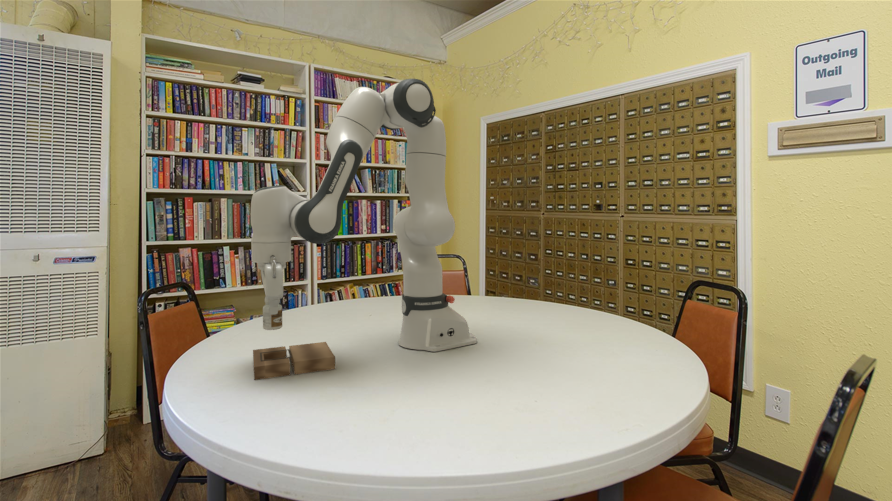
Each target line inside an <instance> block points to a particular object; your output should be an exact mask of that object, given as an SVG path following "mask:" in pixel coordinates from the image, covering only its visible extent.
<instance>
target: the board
mask: <svg viewBox="0 0 892 501" xmlns="http://www.w3.org/2000/svg"><path fill="white" fill-rule="evenodd" d="M288 347H289V348H288V349H287V348H286V346H278V347H276V346H275V347H269V348H259V349H252V356H253V357H252V358H253V375H254V376H253V377H254V380H255V381H256V380H264V379H271V378H278V377H280V378H281V377H286V376H291V366H292V368H293V369H292V370H293V373H294V375H300V374H307V373H314V372H323V371H328V370H329V371H331V370H335V369H336V356H335V355H334V353H333V351H332V350H331V348H330V346H329V345H328V343H327V341H321V342H312V343H304V344H303V343H302V344H295V345H289V346H288ZM287 351H288V354H289V356H288V354H287Z"/></svg>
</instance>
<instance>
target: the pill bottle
mask: <svg viewBox="0 0 892 501" xmlns="http://www.w3.org/2000/svg"><path fill="white" fill-rule="evenodd" d="M280 302H281V299H279V301H278V313H277V314H274V315H271V314H270V311H269V299H267V298H266V295H265V296H264V305H263V306H262V328H263V330H265V331H277V330H280V329H282V328H283V306H282V304H280Z"/></svg>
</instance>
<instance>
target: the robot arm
mask: <svg viewBox="0 0 892 501" xmlns="http://www.w3.org/2000/svg"><path fill="white" fill-rule="evenodd" d="M434 99H435V98H434V96H433V93H432V90H431V88H430V87H429V85H428V84H427V83H426V82H425V81H423V80H421V79H418V78H406V79H403V80H401V81H399V82H396V83H394V84H392V85H390V86H389V87H387V89H384V90H383V91H382V92H378V91H376V90H375V89H372V88H370V87H367V86H359V87H356V88H355V89H353V90H352V92H351V93H350V94H349V95H348V96H347V98H346V99H345V100H344V102H343V103H342V105H341V106H340V107H339V110H338V111H337V113H336V115H335V116H334V118H333V121H332V122H331V124H330V127H329V128H328V132H327V135H326V140H325V144H326V148H327V150H328V152H329V154H330V161H329V165H328V168H327V170H326V172H325V174H324V176H323V179H322V180H321V183H320V185H319V187H318V188H317V189H318V190H317V192H316V193H315V194H314V195H313V196H312V197H311V198H310V199H308V198H306V197H305V196H304V197H303V196H302V195H300V194H297V193H295V192H293V191H292V190H290V189H289V188H288V187H287V186H286V185H282V184H281V185H280V184H279V185H271V186H265V187H260V188H258V189H256V190H255V191H254V192H253V194H252V196H251V199H250V200H251V203H250V226H251V228H252V237H251V242H250V243H251V244H250V247H251V248H250V249H251V262H252V263H257V269H258V270H260V277H261V282H262V286H263V289H264V294H265V296H266V298H267V299H269V311H270V314H271V315H274V314H277V313H278V301H279V299H280V300H281V299H282V298H283V297H284V275H283V274H284V273H283V272H284V271H283V269H286V268H287V263H288V262H291V261H292V238H294V237H297V238H299V239H303V240H304V241H307V242H308V243H311V244H316V245H321V244H326V243H329V242H330V241H332V240H333V239H334V238H335V237H337V236H338V234H339V231H340V229H341V227H342V216H343V215H342V214H343V207H344V202H345V200H346V198H347V196H348V194H349V191H350V189H351V187H352V184H353V182H354V180H355V177H356V175H357V172H358V170H359V167H360V166H361V164H362V162H363V160H364V158H365V157H366V155H367V154H368V152H369V150H370V149H371V147H372V144H373V143H374V141H375V139H376V136H377V135H378V132H379V130H380V129H381V128H383V129H386V130H389V131H390V130H391V131H392V130H393V131H394V130H399V129H403V131H404V134H405V137H406V142H407V144H406V155H405V174H404V175H405V176H404V183H405V187H406V188H407V192H408V195H409V201H410V202H409V203H410V206H407V207H405V208H403V209H402V210H400V211H398V213H396V215H395V217H394V218H393V221H392V222H393V223H392V224H393V225H392V226H393V227H392V228H393V231H394V233H395V235H396V237H397V243H398V248H399V253H400V257H401V262H402V276H403V277H402V278H403V280H402V281H403V283H402V284H403V286H402V287H403V288H402V289H403V293H402V294H401V313H402V322H401V323H402V324H401V330H400V334H399V335H400V336H399V339H398V342H397V344H398V346H401V347H403V348H405V349H409V350H410V349H411V350H418V351H426V352H427V351H428V352H432V353H433V352H441V351H444V350H450V349H451V350H452V349H454V348H461V347H464V346H469V345H474V344H477V342H478V339H477V338H478V337H477V336H476V335H474V334H473V333H471V332H470V328H469V324H468V321H467V319H466V318H465V317H464V316H462V315H461V314H460V313H459V312H457V311H456V310H455V309H453V308H452V307H450V306H449V304H453V303H454V302H455V299H456V298H455V297H454V296H453V295H450V294H449V295H448V294H445V293H443V265H442V263H441V261H440V259H439V257H438V256H439V255H438V254H437V248H436V247H438V246H441V245H444V244H446V243H448V242H449V241H450V240H451V239H452V238H453V236H454V234H455V231H456V223H455V222H456V221H455V219H454V217H453V215H452V214H451V212H450V209H449V205H448V198H447V192H446V162H447V137H446V128H445V124H444V122H443V120H442V119H441V118H440V117H438V116H436V112H437V111H436V110H437V109H436V107H435V101H434Z"/></svg>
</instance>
